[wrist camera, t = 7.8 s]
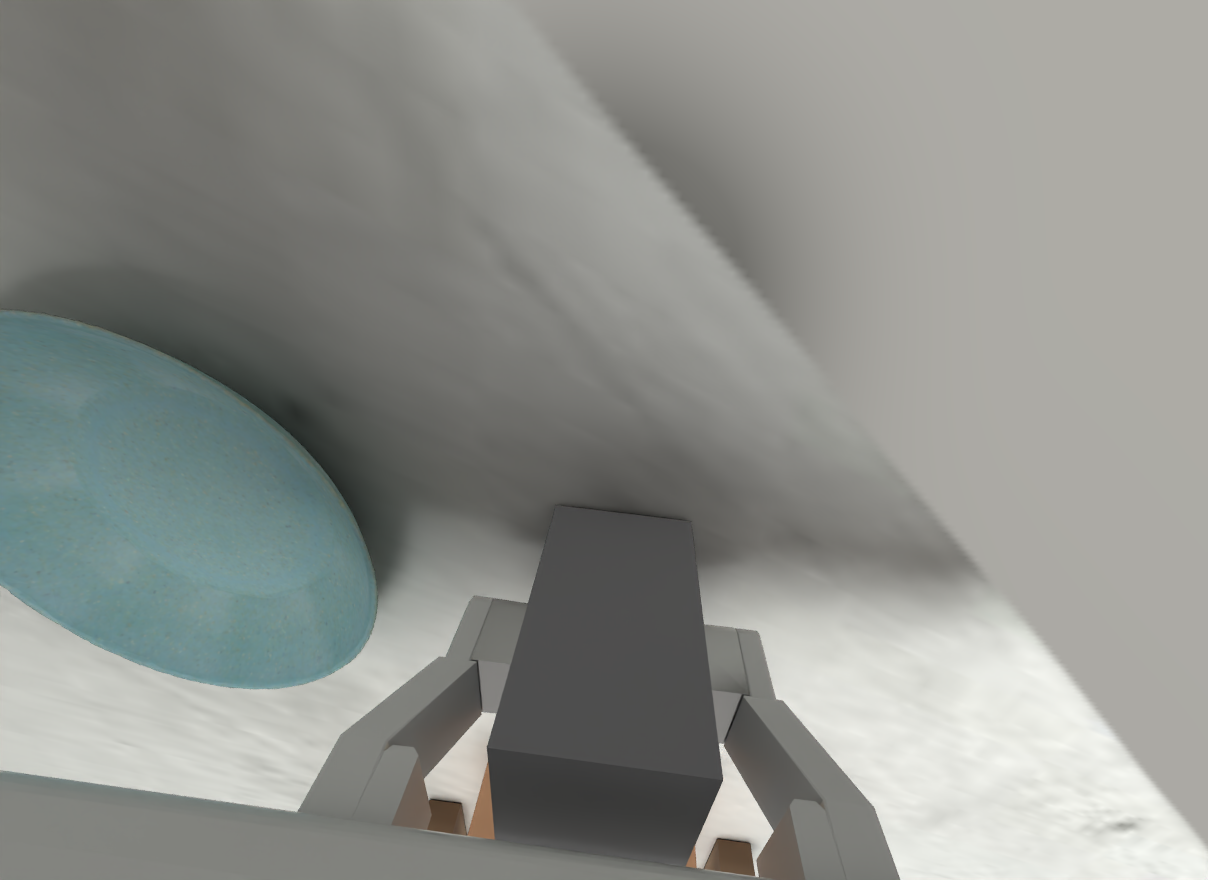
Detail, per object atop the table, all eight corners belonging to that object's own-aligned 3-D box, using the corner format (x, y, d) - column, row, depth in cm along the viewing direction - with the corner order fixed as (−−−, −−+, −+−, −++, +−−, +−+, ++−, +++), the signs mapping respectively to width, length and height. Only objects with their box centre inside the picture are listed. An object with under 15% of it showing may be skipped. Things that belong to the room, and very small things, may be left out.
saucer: (-97, 374, 12) (-239, 411, 10) (225, 208, 10) (113, 215, 8) (214, 650, 18) (159, 709, 16) (483, 595, 15) (457, 659, 13)
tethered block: (474, 495, 12) (346, 727, 7) (774, 531, 12) (871, 800, 7) (498, 830, 23) (454, 1025, 17) (660, 853, 22) (664, 1058, 17)
